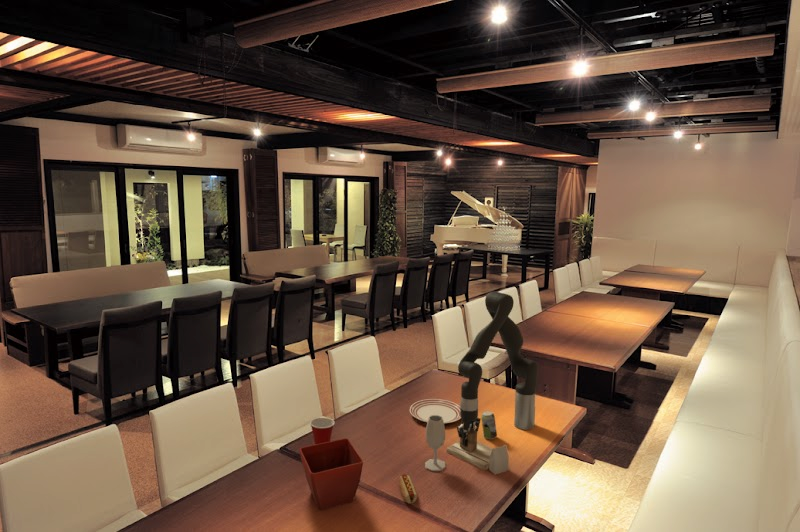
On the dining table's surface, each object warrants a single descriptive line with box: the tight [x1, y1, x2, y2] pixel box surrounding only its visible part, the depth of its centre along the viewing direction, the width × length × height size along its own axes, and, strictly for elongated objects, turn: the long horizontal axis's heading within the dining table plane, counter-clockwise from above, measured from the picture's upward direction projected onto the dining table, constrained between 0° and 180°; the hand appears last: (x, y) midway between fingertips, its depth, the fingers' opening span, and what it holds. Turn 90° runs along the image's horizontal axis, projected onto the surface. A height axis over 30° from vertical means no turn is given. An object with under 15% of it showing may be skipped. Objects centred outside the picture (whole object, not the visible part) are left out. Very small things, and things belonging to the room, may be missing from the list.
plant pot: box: [299, 437, 364, 511], centre depth 180 cm, size 19×19×17 cm
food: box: [398, 473, 418, 504], centre depth 183 cm, size 14×6×5 cm, turn 12°
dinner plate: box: [409, 398, 462, 425], centre depth 248 cm, size 27×27×3 cm
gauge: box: [459, 429, 478, 452], centre depth 212 cm, size 4×8×8 cm, turn 44°
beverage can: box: [480, 410, 498, 440], centre depth 225 cm, size 6×7×12 cm
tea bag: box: [488, 444, 510, 475], centre depth 198 cm, size 4×7×10 cm, turn 116°
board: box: [446, 440, 494, 471], centre depth 210 cm, size 14×20×2 cm
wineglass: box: [424, 415, 446, 472], centre depth 200 cm, size 9×9×21 cm
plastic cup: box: [309, 417, 335, 445], centre depth 216 cm, size 11×11×12 cm
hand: (468, 444), depth 211 cm, fingers closed on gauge, 4 cm apart
